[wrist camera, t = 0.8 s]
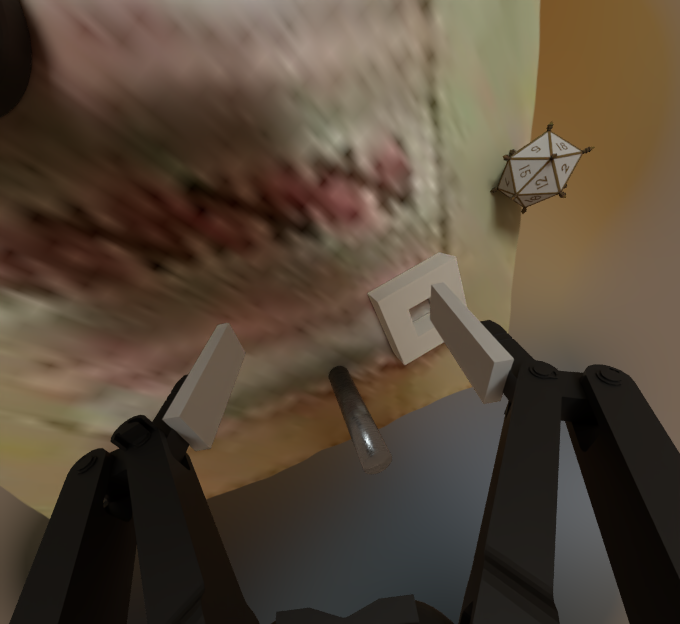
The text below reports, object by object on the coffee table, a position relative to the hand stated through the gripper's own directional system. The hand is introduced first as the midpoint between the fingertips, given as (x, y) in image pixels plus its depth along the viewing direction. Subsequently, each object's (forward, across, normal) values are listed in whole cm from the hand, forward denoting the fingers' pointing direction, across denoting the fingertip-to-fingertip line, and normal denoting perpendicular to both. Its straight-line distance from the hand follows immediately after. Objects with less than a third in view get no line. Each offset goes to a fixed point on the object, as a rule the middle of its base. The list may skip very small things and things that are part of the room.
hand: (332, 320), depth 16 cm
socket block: (+18, +11, -13) cm, 24 cm away
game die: (+24, +26, +2) cm, 35 cm away
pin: (+13, -2, -20) cm, 24 cm away
